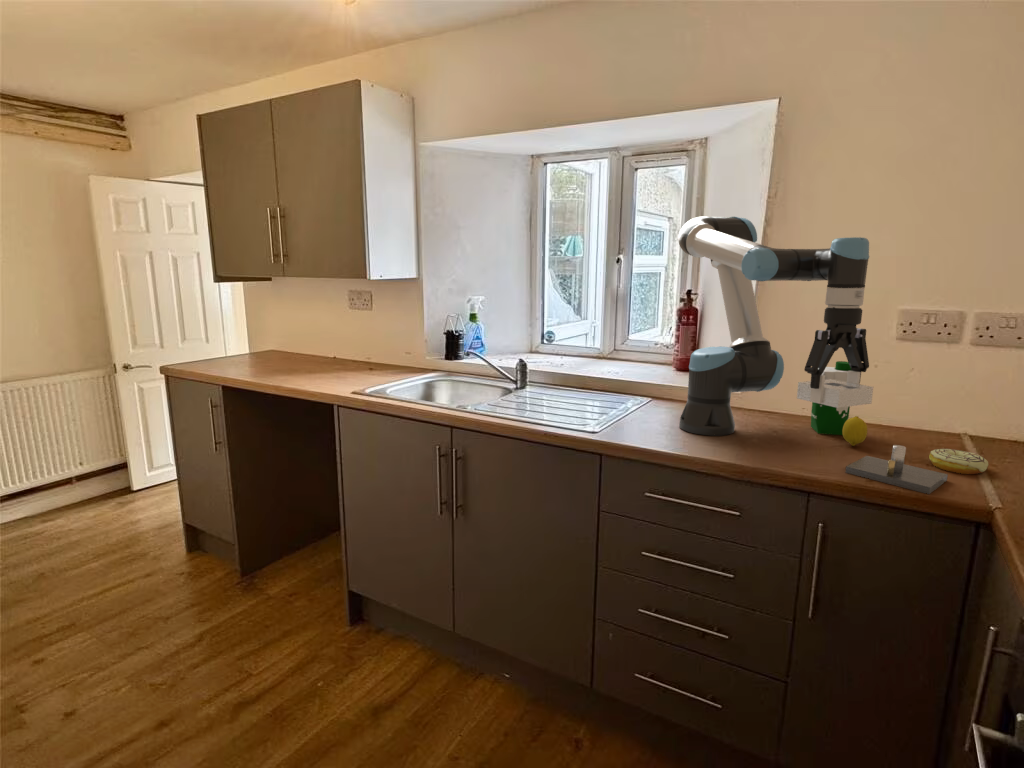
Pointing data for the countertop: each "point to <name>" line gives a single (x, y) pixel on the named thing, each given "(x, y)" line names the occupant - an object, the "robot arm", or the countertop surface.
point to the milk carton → (828, 416)
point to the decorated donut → (958, 461)
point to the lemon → (854, 430)
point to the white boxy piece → (838, 393)
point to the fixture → (897, 472)
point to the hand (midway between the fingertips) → (833, 400)
